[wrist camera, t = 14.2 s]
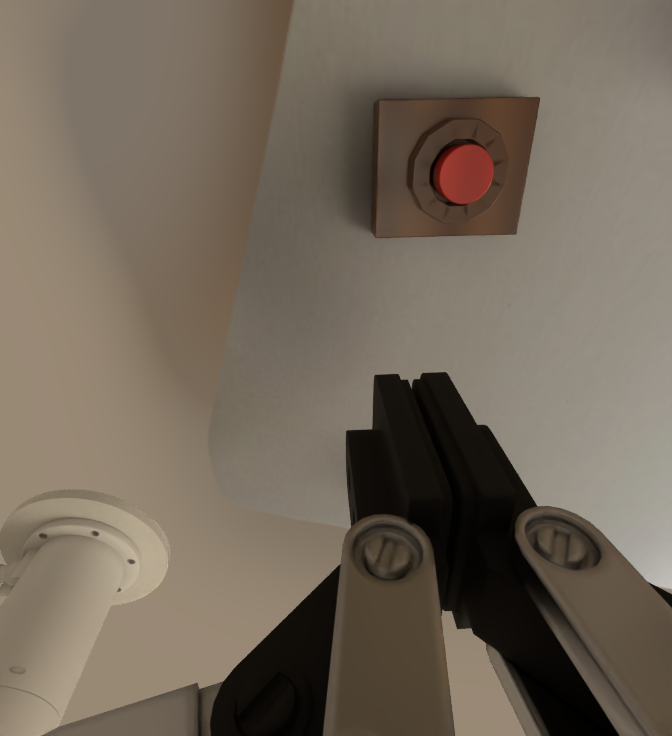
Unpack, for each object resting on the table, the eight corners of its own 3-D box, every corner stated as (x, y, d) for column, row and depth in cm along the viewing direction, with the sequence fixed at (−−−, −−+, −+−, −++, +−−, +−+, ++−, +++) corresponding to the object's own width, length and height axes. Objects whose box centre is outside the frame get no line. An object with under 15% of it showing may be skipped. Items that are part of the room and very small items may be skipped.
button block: (371, 232, 35) (378, 243, 31) (374, 101, 30) (382, 97, 27) (505, 229, 35) (527, 239, 31) (526, 99, 31) (554, 94, 27)
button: (430, 201, 30) (436, 205, 29) (435, 144, 29) (442, 144, 27) (480, 200, 30) (489, 203, 29) (488, 143, 29) (498, 143, 27)
